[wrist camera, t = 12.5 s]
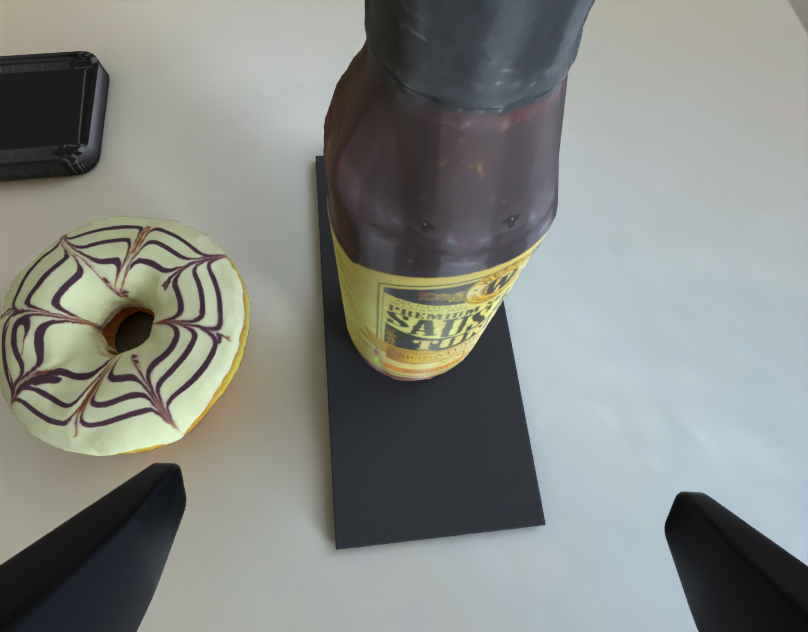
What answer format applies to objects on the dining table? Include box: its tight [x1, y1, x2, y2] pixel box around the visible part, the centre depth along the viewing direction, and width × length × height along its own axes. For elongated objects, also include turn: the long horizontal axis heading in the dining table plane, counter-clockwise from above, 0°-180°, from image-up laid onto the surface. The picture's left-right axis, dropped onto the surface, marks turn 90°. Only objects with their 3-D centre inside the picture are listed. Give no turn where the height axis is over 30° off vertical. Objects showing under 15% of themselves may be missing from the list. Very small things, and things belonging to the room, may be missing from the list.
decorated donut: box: [0, 217, 250, 456], centre depth 21 cm, size 10×11×4 cm
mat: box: [316, 156, 545, 550], centre depth 24 cm, size 20×9×1 cm, turn 6°
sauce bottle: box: [323, 0, 595, 381], centre depth 14 cm, size 6×6×20 cm
